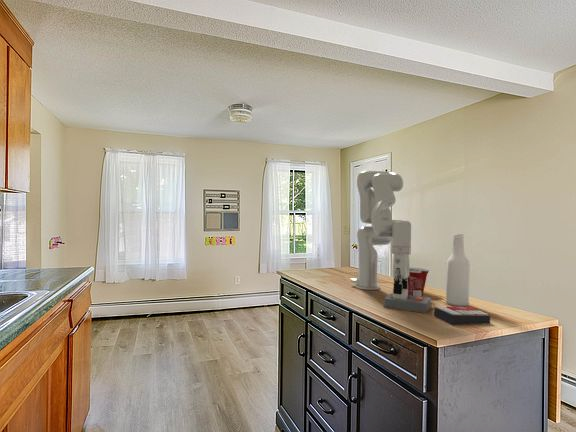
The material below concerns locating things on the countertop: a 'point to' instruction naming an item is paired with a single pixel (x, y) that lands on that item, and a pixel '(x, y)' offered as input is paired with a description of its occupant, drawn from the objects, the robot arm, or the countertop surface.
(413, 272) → the soda can
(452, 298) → the alcohol
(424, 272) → the plastic cup
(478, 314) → the button control panel
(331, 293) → the countertop surface
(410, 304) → the socket plate
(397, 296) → the plug
